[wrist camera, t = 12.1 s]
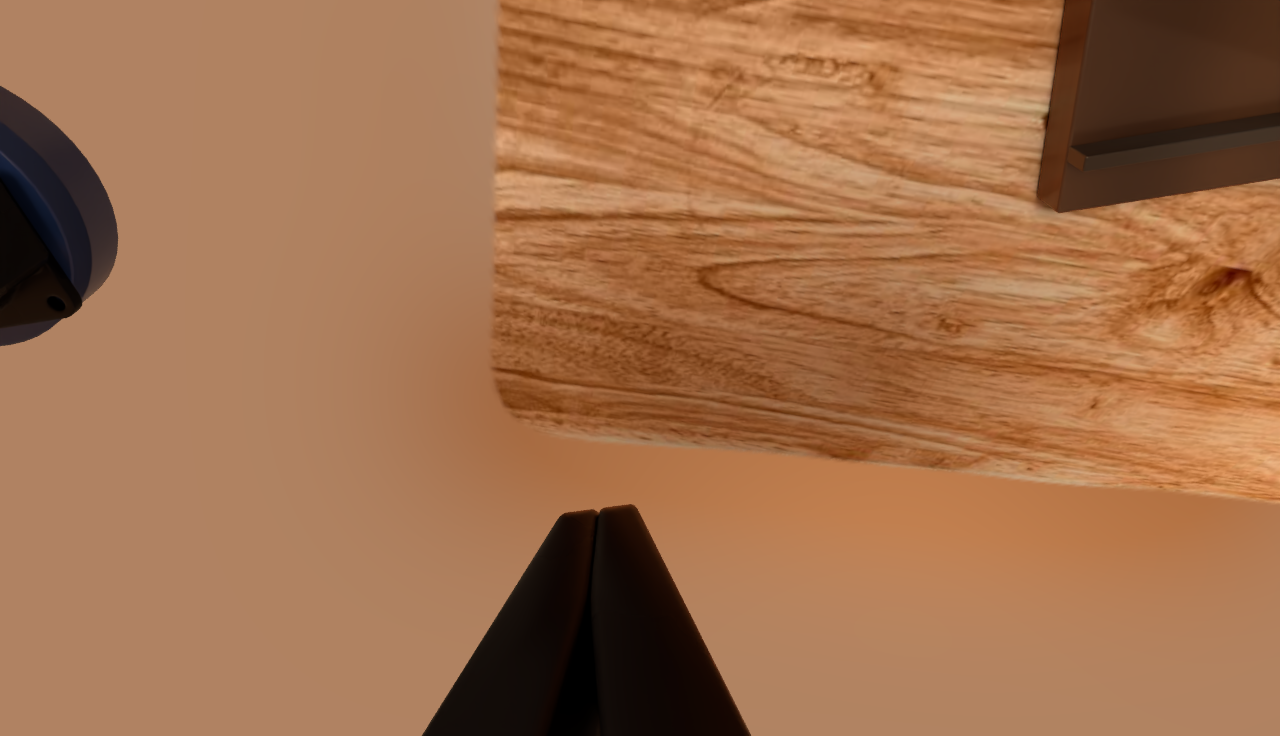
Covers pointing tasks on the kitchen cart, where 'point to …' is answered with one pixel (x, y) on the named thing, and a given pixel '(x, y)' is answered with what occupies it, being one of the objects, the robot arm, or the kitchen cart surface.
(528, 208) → the kitchen cart surface
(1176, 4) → the cabinet
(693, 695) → the robot arm
